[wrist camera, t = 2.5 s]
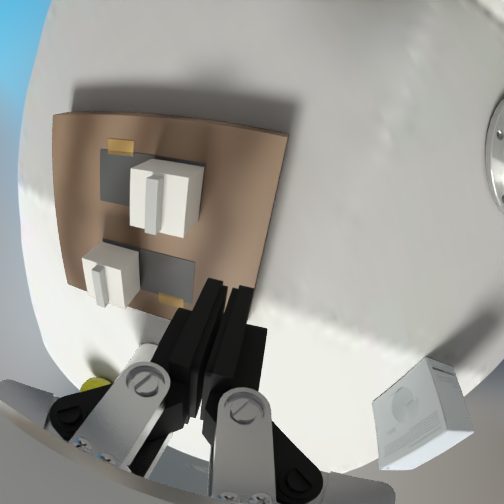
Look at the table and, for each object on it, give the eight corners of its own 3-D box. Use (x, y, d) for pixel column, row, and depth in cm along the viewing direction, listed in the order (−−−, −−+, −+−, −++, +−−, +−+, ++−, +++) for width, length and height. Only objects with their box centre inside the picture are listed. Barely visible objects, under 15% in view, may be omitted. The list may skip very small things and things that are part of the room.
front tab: (204, 167, 19) (183, 181, 16) (198, 220, 21) (178, 243, 18) (152, 158, 19) (123, 171, 16) (149, 209, 21) (123, 230, 18)
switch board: (288, 134, 20) (287, 137, 17) (246, 321, 29) (242, 339, 26) (70, 111, 21) (52, 115, 18) (79, 272, 30) (67, 284, 27)
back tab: (138, 251, 23) (115, 275, 20) (140, 289, 25) (120, 315, 22) (100, 241, 23) (76, 262, 20) (104, 277, 25) (83, 301, 22)
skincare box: (402, 409, 33) (411, 471, 24) (370, 401, 33) (376, 470, 24) (455, 366, 28) (476, 433, 19) (425, 355, 28) (447, 430, 18)
